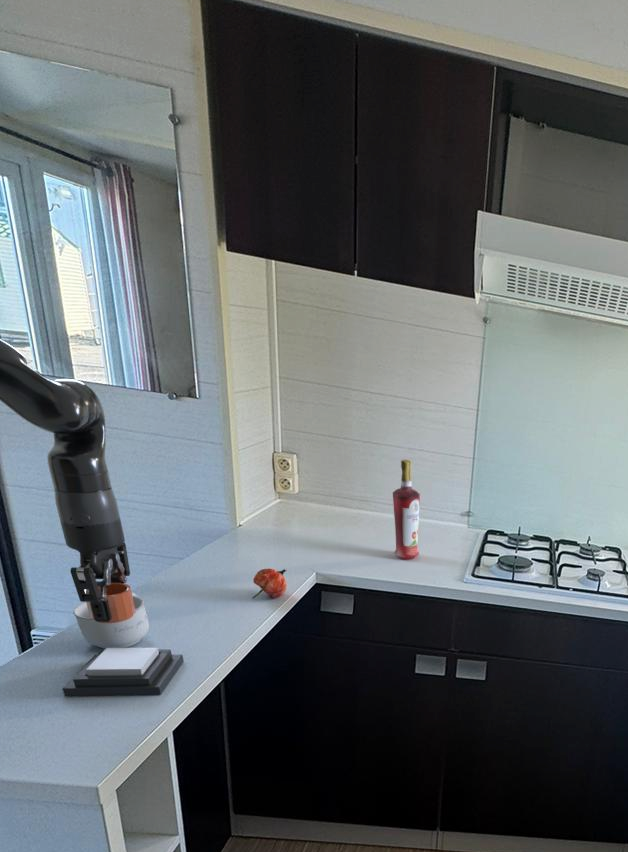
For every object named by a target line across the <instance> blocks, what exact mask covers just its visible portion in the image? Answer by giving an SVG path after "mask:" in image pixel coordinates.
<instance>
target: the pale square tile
mask: <svg viewBox="0 0 628 852" xmlns="http://www.w3.org/2000/svg"><path fill="white" fill-rule="evenodd" d="M158 649H159V648H158V647H125V648H106V649H105V650H104V651H103V652H102V653H101V654H100V655H99V656H98V657H97V658H96V660H95V661H94V662H93V663H92V664H91V665H90V666H89V667H88V668H87V669H86V672H87V676H134V675H144V674H145V673H146V671H147V670H148V669H149V668H150V666H151V665H152V664H153V662H154V661H155V660H156V659H157V657H158V656H159V651H158Z"/></svg>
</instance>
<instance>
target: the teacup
mask: <svg viewBox="0 0 628 852" xmlns="http://www.w3.org/2000/svg"><path fill="white" fill-rule="evenodd" d="M132 597H133V601H134V606H135V610H136V613H135V614H134V615H133V617H132V618H130V619H128V620H125V621H122V622H117V623H99V622H96V621H95V620H93V619H91V618H90V615H89V611H88V607H87V603H86V602H82V603H81V604H79V605H77V606H76V607H75V608H74V609H73V615H74V616H75V618H76V621H77V624H78V627H79V630H80V632H81V634H82V636H83V638H84V640H85V641H86V642H87V643H88V644H90V645H93V646H95V647H97V648H98V647H99V648H100V649H106V648H130V647H131V646H134V645H136V644H138V643H139V642H140V641H141V640H142V639H143V638H144V637H145V636H146V635H147V633H148V632H149V627H150V625H149V618H148V615H147V611H146V608H145V601H144V599H143V598H141V597H138V595H137V594H136V593H135V592H132Z"/></svg>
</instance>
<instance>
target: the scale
mask: <svg viewBox="0 0 628 852" xmlns="http://www.w3.org/2000/svg"><path fill="white" fill-rule="evenodd" d="M104 650H105V649H104V648H101V650H100V651H99V652H98V653H97V654H94V655H93V656H92V657H91V658H90V659H89V660H88V661H87V662H86V663H85V665H84V666H83V667H81V669H79V671H78V672H77V673H75V675H74V676H72V678H71V679H70V680H69V681H68V682H67V683H66V684H65V685H64V686H63V687H62V692H63V695H64V697H65V696H67V697H115V696H116V695H117V697H119V696H118V695H125V696H161V695H162V694H163V692H164V691H165V690H166V689H167V687H168V686H169V684H170V683H171V681H172V679H174V677H175V675H176V674H177V673H178V671H179V669H180V668H181V667H182V665H183V664H184V655H183V654H172V649H169V648H168V649H162V648H161V649H160V648H158V651H159V656H158V657H157V659H156V660H155V661H154V662H153V664H152V665H151V666H150V668H149V669H148V670H147V671H146V673H145V674H144V675H134V676H87V672H86V669H87V668H88V667H89V666H90V665H91V664H92V663H93V662H94V661H95V660H96V658H97V657H98V656H99V655H100V654H101V653H102V652H103V651H104Z"/></svg>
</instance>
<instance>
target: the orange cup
mask: <svg viewBox="0 0 628 852" xmlns="http://www.w3.org/2000/svg"><path fill="white" fill-rule="evenodd" d="M98 589H99V592H100V587H98ZM84 590H85V593H86V589H84ZM132 593H133V592H132V588H131V586H130V585H129V584H127V583H124V584H123V583H111V585H110V586H109V587H108V588H107V600H108V603H109V607H110V612H111V616H112V619H111V620H110V621H109V622H99V623H117V622H122V621H125V620H128V619H130V618H132V617H133V615H134V614H135V613H136V610H135V606H134V601H133V597H132ZM86 603H87V607H88V611H89V615H90V618H91V619H93V620H95V619H94V616H93V612H92V608H91V604H90V602H86ZM96 622H97V621H96Z"/></svg>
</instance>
